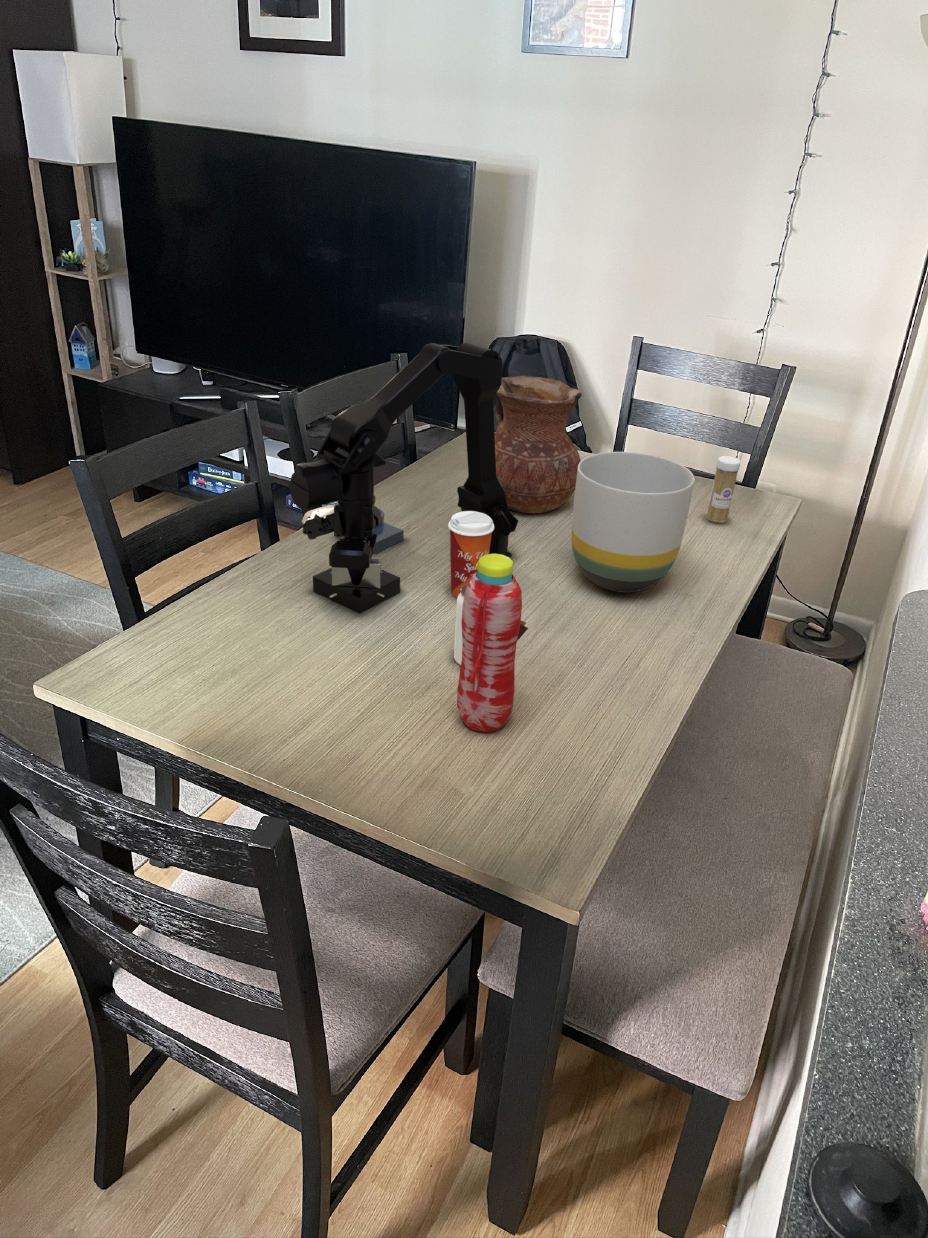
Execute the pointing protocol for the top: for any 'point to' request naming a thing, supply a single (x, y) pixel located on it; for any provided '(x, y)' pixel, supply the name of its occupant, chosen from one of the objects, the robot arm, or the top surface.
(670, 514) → the planter
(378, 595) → the black dial base
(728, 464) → the sprinkles bottle
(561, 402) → the jug
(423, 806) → the top surface
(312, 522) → the robot arm
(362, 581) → the grey block red tab
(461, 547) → the paper cup
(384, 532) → the blue stepped block
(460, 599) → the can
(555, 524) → the top surface
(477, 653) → the water bottle
